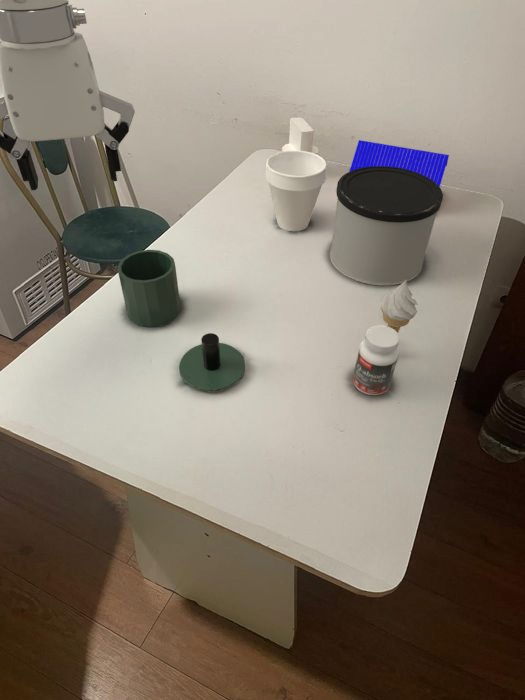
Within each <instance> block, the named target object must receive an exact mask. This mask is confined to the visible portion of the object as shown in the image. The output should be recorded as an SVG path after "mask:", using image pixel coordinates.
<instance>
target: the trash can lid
mask: <svg viewBox="0 0 525 700" xmlns="http://www.w3.org/2000/svg"><path fill="white" fill-rule="evenodd" d="M200 341H201V343H200V344H198V345H196V346H193V347H192V348H189V350H188V351H186V352H185V353H184V354H183V355H182V357H181V359H180V361H179V365H178V369H179V375H180V377H181V379H182V381H184V383H185V384H186V385H188V386H189V387H190V388H193V389H195V390H198V391H201V392H220V391H224V390H226V389H229V388H231V387H234V385H236V384H237V383H238V382H240V380H241V379H242V377H243V375H244V374H245V369H246V361H245V357H244V356H243V354H242V353H241V352H240V351H239V350H238V349H237V348H235V347H234V346H232V345H230V344H227V343H223V342H220V338H219V336H218V335H217V334H216V333H212V332H211V333H209V332H208V333H205V334H203V335H202V336H201V338H200Z"/></svg>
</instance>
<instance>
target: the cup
mask: <svg viewBox="0 0 525 700" xmlns="http://www.w3.org/2000/svg"><path fill="white" fill-rule="evenodd" d="M265 164H266V168H265V180H266V181H267V182H268V186H269V191H270V196H271V200H272V205H273V210H274V214H275V218H276V222H277V225H278V227H279V228H280V229H282V230H284V231H287V232H301V231H303V230H305V229H307V228H308V226H309V224H310V221H311V218H312V215H313V213H314V209H315V206H316V204H317V201H318V197H319V195H320V192H321V189H322V186H323V185H324V184H325V182H326V179H327V167H328V165H327V161H326V160H325V159H324V158H323V157H322V156H320V155H319V154H318V155H317V154H314V153H311V152H307V151H299V150H290V151H283V152H282V151H279V152H275V153H274V154H271V155H270V156H269V157H268V158H267V160H266V162H265Z"/></svg>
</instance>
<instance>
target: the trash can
mask: <svg viewBox="0 0 525 700" xmlns="http://www.w3.org/2000/svg"><path fill="white" fill-rule="evenodd" d="M175 262H176V261H175V259H174V257H172V256H171V255H170V254H169V253H168V252H164V251H162V250H159V249H143V250H137V251H135V252H132V253H129V254H127V255H126V256H124V257H123V258H122V259H121V260H120V261H119V263H118V264H117V273H118V278H119V283H120V287H121V291H122V297H123V301H124V304H125V308H126V314H127V316H128V318H129V320H130V321H131V322H132V323H133V324H134V325H137V326H140V327H144V328H158V327H162V326H165V325H168V324H169V323H171V322H173V321H174V320H175V319H176V318H177V317H178V316H179V314H180V313H181V300H180V291H179V284H178V275H177V268H176V263H175Z"/></svg>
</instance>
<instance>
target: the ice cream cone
mask: <svg viewBox="0 0 525 700" xmlns="http://www.w3.org/2000/svg"><path fill="white" fill-rule="evenodd" d="M418 305H419V303H418V302H417V300H416V299H415V298H413V292H412V291H411V290H410V288H409V286H408V281H407V282H406V280H405V281H404V282H403V283H401V284H399V285H398V286H397V287H396V288H394V289H393V290H391V291H389V292H388V293H386V294H385V295H384V296H383V297H381V299H380V311H381V313H382V319H383V321H384V322H385V323H386V324H387V326H388V327H390V328H392V329H394V330H395V331H396V332H397V333H398V334H399V332H400V330H401V327H405V326H407V325H408V324H409V323H410V321H411V320H412V319H413V318H415V317H416V315H417V313H418V312H419V311H418V309H417V307H416V306H418Z"/></svg>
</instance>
